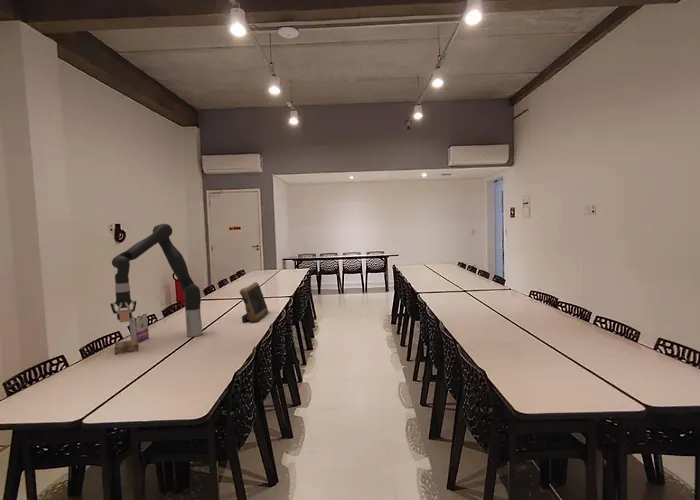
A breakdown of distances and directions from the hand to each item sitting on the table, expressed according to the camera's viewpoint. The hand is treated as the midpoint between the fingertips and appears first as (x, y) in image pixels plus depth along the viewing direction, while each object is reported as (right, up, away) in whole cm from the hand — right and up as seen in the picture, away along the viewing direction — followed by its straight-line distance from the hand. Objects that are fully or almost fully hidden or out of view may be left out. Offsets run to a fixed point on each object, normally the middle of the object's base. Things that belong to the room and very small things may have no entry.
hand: (124, 319), depth 260 cm
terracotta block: (0, -1, 0) cm, 1 cm away
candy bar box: (-1, -17, +22) cm, 27 cm away
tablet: (+60, -11, +74) cm, 96 cm away
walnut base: (+1, -18, +1) cm, 18 cm away
